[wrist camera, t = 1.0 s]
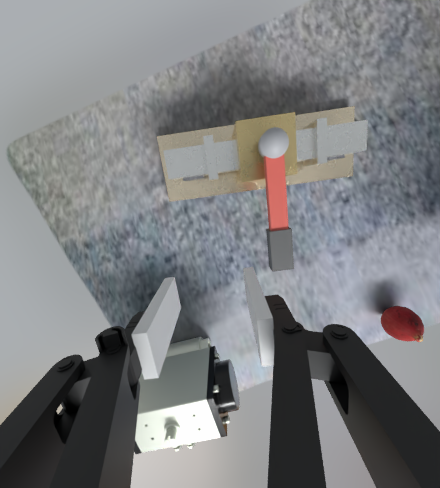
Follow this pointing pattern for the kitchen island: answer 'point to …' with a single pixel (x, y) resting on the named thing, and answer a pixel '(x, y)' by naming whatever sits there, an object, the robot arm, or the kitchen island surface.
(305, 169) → the valve pipe
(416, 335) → the onion
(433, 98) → the kitchen island surface
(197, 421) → the ball valve
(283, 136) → the lever
